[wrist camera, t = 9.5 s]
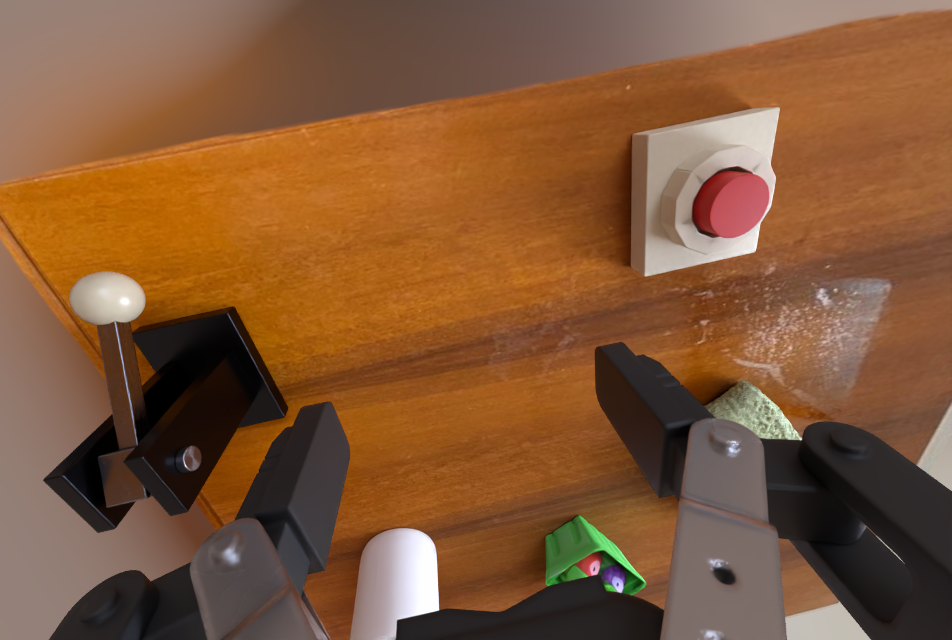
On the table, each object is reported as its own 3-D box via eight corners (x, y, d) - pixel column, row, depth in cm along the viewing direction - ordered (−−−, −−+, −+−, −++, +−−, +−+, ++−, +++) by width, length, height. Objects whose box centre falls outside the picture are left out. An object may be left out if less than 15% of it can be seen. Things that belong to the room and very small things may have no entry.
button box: (631, 133, 27) (663, 135, 23) (754, 107, 27) (805, 105, 24) (630, 267, 31) (657, 286, 28) (735, 244, 32) (774, 259, 28)
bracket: (139, 326, 28) (-24, 444, 18) (234, 305, 29) (128, 410, 18) (207, 426, 33) (110, 567, 23) (289, 408, 33) (229, 538, 23)
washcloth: (713, 509, 48) (731, 533, 45) (638, 443, 41) (655, 467, 38) (808, 447, 45) (834, 468, 42) (745, 364, 38) (772, 384, 35)
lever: (102, 282, 24) (46, 273, 21) (154, 271, 24) (106, 260, 21) (140, 490, 23) (88, 514, 20) (192, 478, 24) (149, 499, 20)
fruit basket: (629, 543, 49) (682, 650, 39) (572, 576, 51) (610, 687, 41) (582, 503, 44) (629, 614, 34) (521, 542, 46) (550, 658, 36)
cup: (415, 516, 41) (414, 624, 32) (461, 570, 47) (471, 676, 38) (347, 544, 42) (327, 658, 33) (400, 595, 48) (396, 704, 39)
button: (695, 177, 25) (713, 181, 24) (753, 165, 25) (775, 167, 24) (690, 237, 27) (706, 244, 25) (744, 225, 27) (764, 231, 26)
